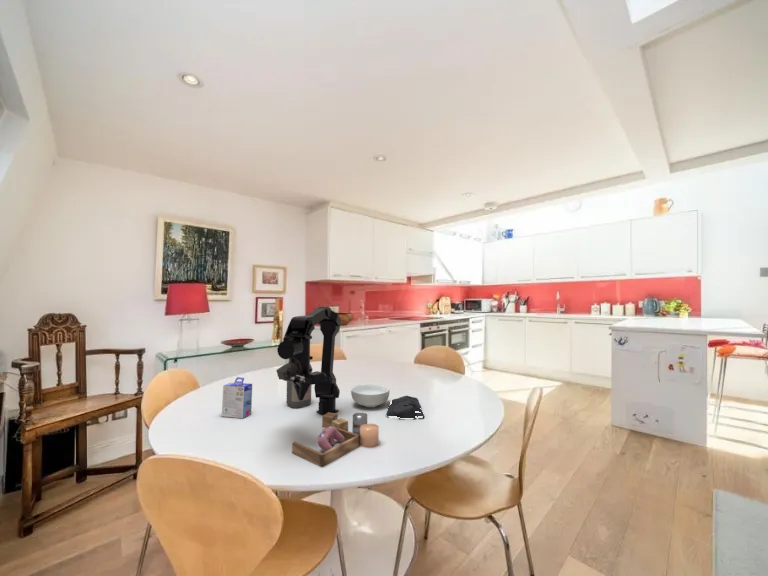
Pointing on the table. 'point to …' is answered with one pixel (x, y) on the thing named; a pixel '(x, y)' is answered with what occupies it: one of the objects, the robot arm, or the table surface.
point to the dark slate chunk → (405, 407)
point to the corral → (330, 455)
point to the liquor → (293, 398)
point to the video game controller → (329, 438)
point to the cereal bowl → (370, 394)
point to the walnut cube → (328, 419)
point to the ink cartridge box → (237, 399)
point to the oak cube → (340, 424)
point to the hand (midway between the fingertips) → (300, 400)
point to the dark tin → (358, 422)
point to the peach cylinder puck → (369, 435)
